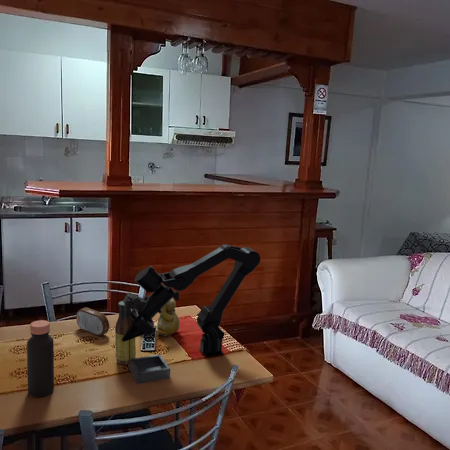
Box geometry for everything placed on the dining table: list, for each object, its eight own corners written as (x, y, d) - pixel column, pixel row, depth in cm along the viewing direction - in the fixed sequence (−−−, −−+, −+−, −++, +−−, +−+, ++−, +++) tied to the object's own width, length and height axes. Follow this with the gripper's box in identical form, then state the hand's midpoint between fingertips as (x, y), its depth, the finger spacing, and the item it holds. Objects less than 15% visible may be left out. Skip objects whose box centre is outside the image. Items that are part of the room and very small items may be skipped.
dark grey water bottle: (28, 399, 126) (26, 329, 122) (27, 387, 132) (26, 320, 128) (54, 395, 129) (54, 326, 125) (53, 383, 135) (52, 317, 131)
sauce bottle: (131, 355, 155) (132, 297, 151) (138, 363, 150) (139, 303, 146) (112, 359, 151) (112, 300, 148) (119, 367, 146) (119, 307, 143)
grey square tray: (159, 363, 150) (160, 354, 150) (170, 377, 141) (170, 368, 141) (128, 368, 146) (128, 359, 146) (137, 383, 137) (137, 374, 137)
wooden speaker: (109, 336, 168) (110, 314, 167) (103, 339, 166) (103, 316, 164) (81, 325, 176) (81, 304, 175) (74, 328, 173) (74, 306, 172)
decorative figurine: (159, 327, 179) (161, 289, 176) (181, 328, 178) (182, 291, 176) (154, 337, 169) (155, 297, 167) (176, 339, 169) (178, 299, 166)
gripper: (134, 276, 156) (100, 310, 154) (144, 294, 139) (105, 332, 137) (157, 297, 160) (124, 330, 158) (169, 317, 143) (132, 355, 141)
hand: (121, 336), depth 148 cm, fingers closed on sauce bottle, 6 cm apart
